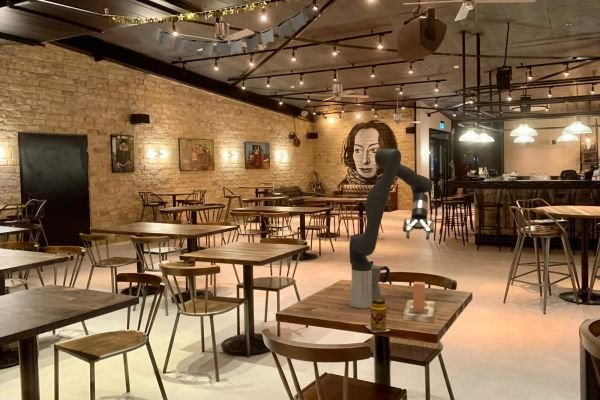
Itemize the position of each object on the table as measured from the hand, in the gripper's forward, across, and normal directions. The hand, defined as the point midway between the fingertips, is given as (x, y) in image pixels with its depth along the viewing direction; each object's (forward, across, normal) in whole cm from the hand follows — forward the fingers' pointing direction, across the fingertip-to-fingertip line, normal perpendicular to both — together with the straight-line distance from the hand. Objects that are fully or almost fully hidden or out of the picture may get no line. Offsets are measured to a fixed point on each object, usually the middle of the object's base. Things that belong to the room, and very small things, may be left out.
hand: (417, 238), depth 240 cm
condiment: (+52, -12, -8) cm, 54 cm away
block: (+36, +2, +4) cm, 36 cm away
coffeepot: (+19, -21, +25) cm, 38 cm away
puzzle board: (+34, +2, +10) cm, 35 cm away
